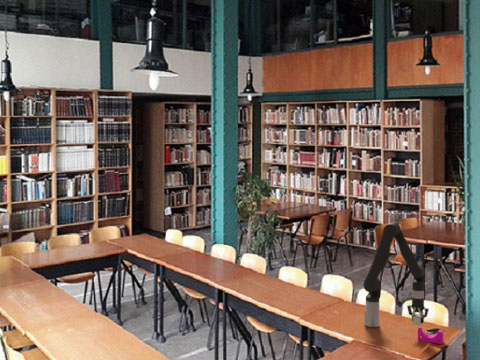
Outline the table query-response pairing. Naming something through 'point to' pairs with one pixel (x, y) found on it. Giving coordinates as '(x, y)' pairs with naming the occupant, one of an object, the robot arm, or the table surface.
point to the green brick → (417, 319)
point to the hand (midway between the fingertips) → (417, 322)
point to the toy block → (430, 337)
